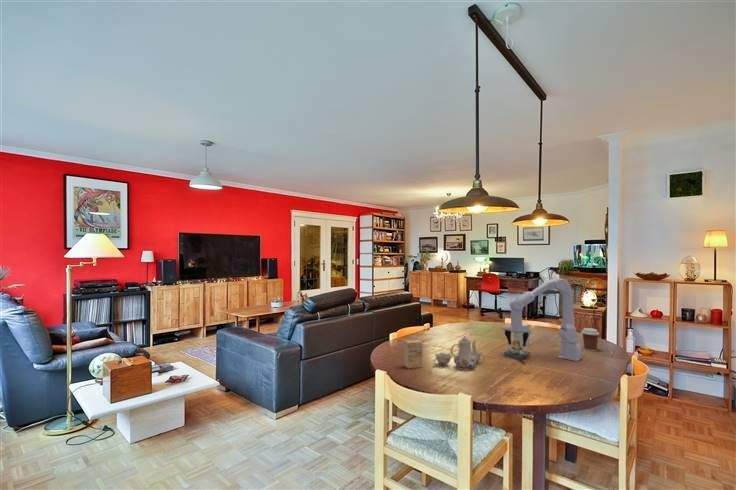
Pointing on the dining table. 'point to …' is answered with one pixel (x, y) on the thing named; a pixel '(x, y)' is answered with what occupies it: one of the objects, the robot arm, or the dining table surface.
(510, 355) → the block
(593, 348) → the coffee cup
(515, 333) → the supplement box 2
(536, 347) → the dining table surface
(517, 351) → the collar
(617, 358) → the dining table surface
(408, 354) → the supplement box
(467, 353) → the chinaware
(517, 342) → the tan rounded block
